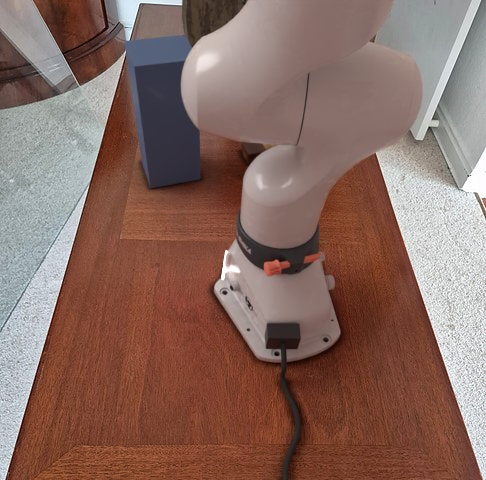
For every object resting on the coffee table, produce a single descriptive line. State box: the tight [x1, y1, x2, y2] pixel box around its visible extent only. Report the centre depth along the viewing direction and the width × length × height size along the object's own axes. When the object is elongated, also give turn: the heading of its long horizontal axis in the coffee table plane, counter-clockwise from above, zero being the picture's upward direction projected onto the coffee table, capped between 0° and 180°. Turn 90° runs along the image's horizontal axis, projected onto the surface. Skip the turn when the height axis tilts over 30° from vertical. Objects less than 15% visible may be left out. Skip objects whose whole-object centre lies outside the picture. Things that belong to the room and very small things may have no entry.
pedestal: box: [123, 34, 202, 189], centre depth 82 cm, size 8×10×24 cm
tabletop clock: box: [181, 0, 243, 48], centre depth 109 cm, size 14×9×25 cm, turn 92°
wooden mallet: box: [241, 142, 277, 165], centre depth 97 cm, size 18×4×2 cm, turn 109°
